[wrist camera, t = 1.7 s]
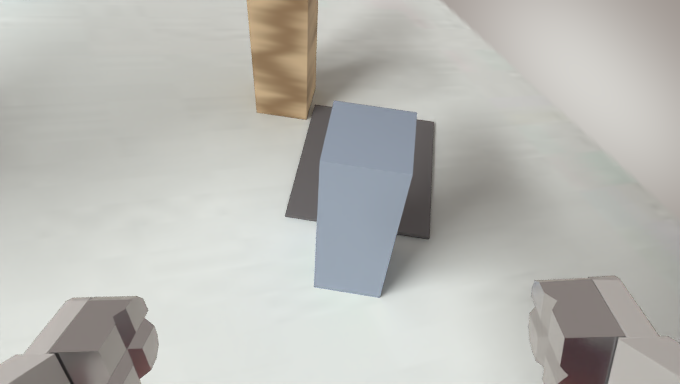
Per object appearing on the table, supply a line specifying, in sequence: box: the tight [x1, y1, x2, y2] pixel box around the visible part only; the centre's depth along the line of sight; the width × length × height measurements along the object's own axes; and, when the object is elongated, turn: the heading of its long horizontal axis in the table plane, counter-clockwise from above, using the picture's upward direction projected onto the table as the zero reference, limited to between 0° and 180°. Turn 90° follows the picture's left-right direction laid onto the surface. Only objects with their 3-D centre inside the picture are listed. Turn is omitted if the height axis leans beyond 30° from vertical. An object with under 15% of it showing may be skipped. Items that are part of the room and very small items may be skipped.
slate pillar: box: [314, 101, 417, 298], centre depth 33 cm, size 5×5×14 cm
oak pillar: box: [247, 0, 318, 120], centre depth 45 cm, size 5×5×14 cm
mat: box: [285, 105, 434, 239], centre depth 45 cm, size 12×14×1 cm
